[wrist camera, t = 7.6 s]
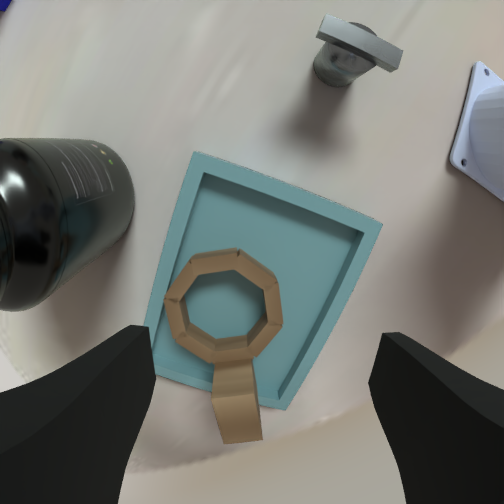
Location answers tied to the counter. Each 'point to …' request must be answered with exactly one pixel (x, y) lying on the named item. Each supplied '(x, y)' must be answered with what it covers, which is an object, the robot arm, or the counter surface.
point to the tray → (267, 253)
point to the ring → (228, 341)
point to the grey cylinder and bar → (351, 52)
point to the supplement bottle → (56, 213)
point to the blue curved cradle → (4, 4)
